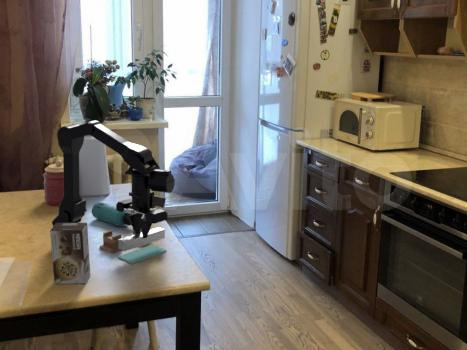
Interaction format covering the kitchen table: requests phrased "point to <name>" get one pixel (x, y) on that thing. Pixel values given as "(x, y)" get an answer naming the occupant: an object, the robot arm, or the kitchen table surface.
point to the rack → (111, 241)
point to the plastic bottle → (93, 168)
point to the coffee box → (70, 253)
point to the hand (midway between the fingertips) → (142, 236)
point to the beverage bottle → (109, 214)
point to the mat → (142, 254)
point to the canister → (54, 184)
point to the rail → (141, 239)
